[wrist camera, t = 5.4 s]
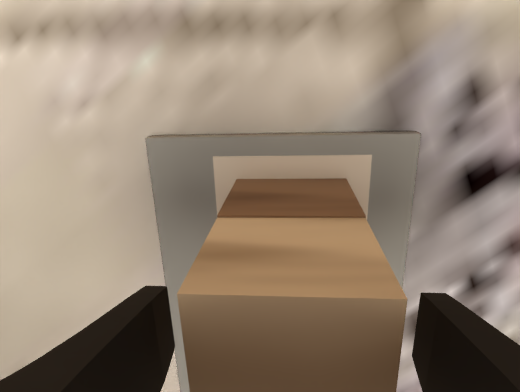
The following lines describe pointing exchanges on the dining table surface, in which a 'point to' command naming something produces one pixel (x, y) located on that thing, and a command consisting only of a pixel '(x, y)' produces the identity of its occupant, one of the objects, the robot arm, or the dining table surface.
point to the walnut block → (291, 199)
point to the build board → (274, 167)
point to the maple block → (291, 308)
